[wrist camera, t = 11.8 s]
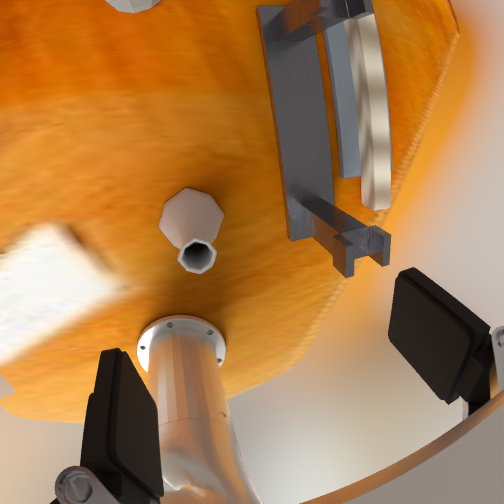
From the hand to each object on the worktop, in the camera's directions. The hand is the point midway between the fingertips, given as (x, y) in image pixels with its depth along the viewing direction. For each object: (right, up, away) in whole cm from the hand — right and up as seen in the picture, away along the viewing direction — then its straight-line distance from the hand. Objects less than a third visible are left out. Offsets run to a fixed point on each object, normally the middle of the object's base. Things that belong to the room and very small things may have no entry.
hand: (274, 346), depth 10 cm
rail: (+13, +22, +22) cm, 33 cm away
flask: (-8, +7, +25) cm, 27 cm away
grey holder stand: (+5, +18, +23) cm, 29 cm away
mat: (+12, +22, +23) cm, 34 cm away
